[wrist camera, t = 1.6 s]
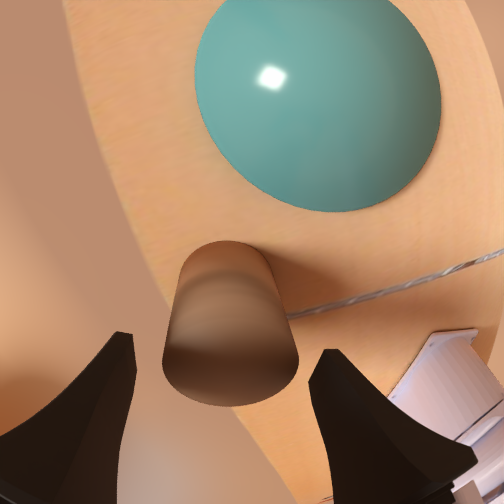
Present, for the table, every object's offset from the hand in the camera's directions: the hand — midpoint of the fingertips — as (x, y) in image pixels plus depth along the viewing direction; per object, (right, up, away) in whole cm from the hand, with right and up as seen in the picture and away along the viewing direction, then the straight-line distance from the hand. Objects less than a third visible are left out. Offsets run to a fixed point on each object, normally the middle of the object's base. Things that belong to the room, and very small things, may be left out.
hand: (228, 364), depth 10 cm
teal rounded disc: (+4, +12, +1) cm, 13 cm away
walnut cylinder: (-1, +2, +5) cm, 6 cm away
